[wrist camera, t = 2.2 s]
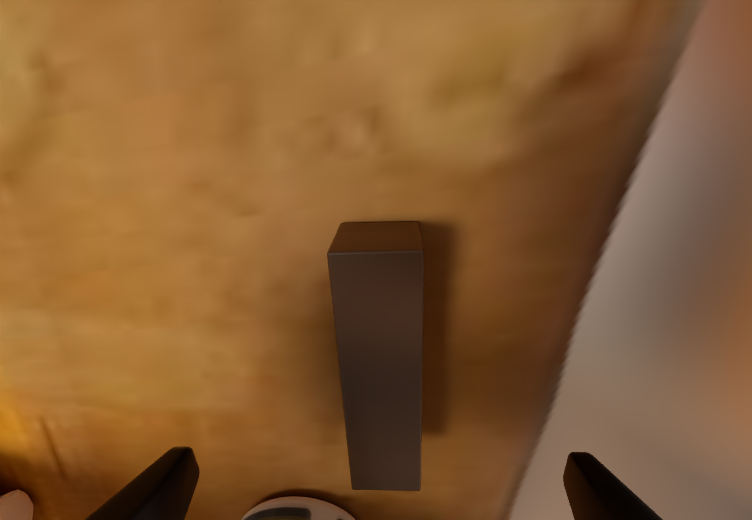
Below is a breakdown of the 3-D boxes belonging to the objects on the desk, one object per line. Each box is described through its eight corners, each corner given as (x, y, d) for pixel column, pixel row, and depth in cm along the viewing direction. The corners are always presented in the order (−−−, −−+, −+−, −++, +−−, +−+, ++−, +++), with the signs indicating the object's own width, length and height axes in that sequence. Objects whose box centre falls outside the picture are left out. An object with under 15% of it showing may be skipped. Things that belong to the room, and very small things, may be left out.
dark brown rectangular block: (417, 433, 14) (420, 492, 12) (358, 432, 14) (351, 490, 12) (418, 220, 11) (424, 250, 9) (340, 222, 11) (326, 252, 9)
